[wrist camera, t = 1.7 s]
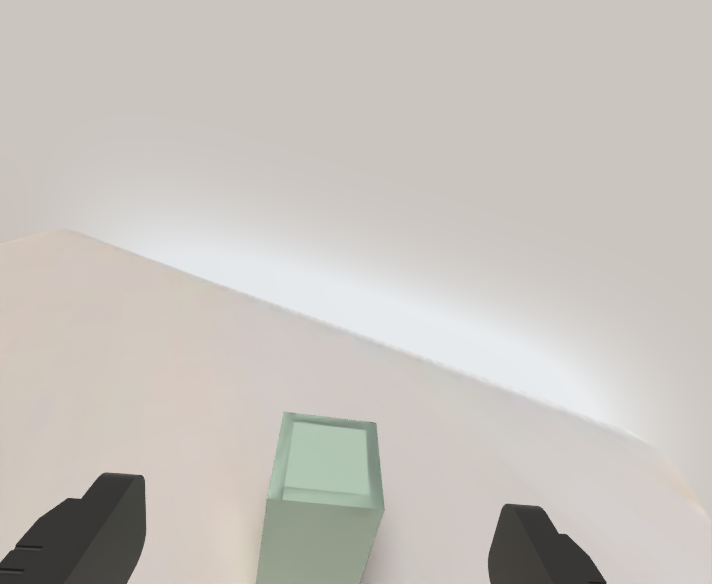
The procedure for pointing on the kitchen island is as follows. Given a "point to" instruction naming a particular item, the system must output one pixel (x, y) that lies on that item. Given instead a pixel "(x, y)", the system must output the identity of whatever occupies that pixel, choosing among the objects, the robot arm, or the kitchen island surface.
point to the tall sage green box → (321, 502)
